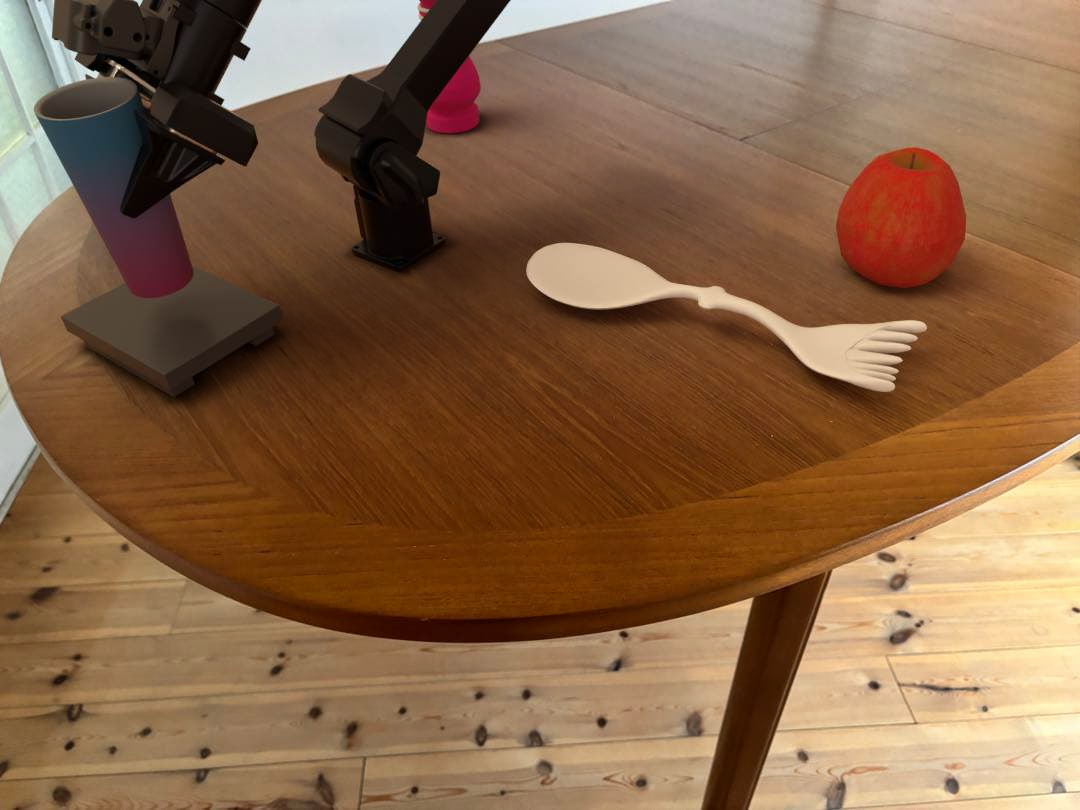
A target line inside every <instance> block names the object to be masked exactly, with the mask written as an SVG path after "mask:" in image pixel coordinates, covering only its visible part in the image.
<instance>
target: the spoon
mask: <svg viewBox="0 0 1080 810" xmlns="http://www.w3.org/2000/svg"><path fill="white" fill-rule="evenodd" d="M525 272H526V277H527V278H528V280H529V282H530V283H531V284H532V285H533V286H534V287H535V288H536V289H537V290H538V291H540V292H541V293H542V294H543V295H545V296H546V297H549V298H550V299H552V300H554V301H556V302H559V303H561V304H564V305H567V306H571V307H575V308H580V309H586V310H598V311H599V310H600V311H601V310H614V309H621V308H628V307H633V306H636V305H641V304H647V303H650V302H654V301H660V300H664V299H665V300H666V299H672V298H675V299H676V298H678V299H679V298H680V299H681V298H682V299H689V300H694V301H696V302H697V305H698V307H699V308H700V309H703V310H708V311H710V310H714V309H715V310H724V311H728V312H732V313H736V314H739V315H742V316H745V317H748V318H750V319H752V320H754V321H756V322H757V323H759V324H761V325H763V326H764V327H765V328H766V329H768V330H769V331H771V332H772V333H773V334H774V335H775V336H776V337H778V338H779V340H781V341H782V343H784V345H786V347H787V348H788V349H789V350H790V351H791V352H792V354H793V355H794V356H795V357H796V358H797V360H799V361H800V362H801V363H802V364H803V365H805V367H806V368H808V369H810V370H811V371H813V372H815V373H818V374H820V375H823V376H826V377H830V378H833V379H836V380H840V381H842V382H845V383H849V384H852V385H855V386H857V387H859V388H864V389H867V390H871V391H875V392H879V393H880V392H882V393H888V392H889V393H890V392H892V391H894V390H895V388H896V385H895V383H894V382H895V381H896V380H897V378H896V376H894V375H897V374H898V373H899V372H900V371H899V370H898V369H897V368H895V367H892V365H898V364H900V363H902V362H904V360H903V359H902V358H901V357H900V356H897V355H893V354H896V353H898V354H899V353H904V352H909V351H910V350H912V349H913V348H912V347H911V346H910V345H908V343H913V342H916V341H917V340H919V338H918V336H917V335H914V334H919V333H924V332H926V331H927V329H928V327H927V325H926V323H925V322H923V321H919V320H913V319H906V320H896V321H885V322H877V323H841V324H839V323H838V324H831V325H824V326H817V327H807V326H800V325H797V324H794V323H792V322H790V321H788V320H786V319H784V318H783V317H781V316H780V315H778V314H777V313H775V312H773V311H772V310H770V309H768V308H766V307H764V306H762V305H761V304H758V303H757V302H753V301H752V300H749V299H745V298H742V297H739V296H735V295H732V294H731V293H728V292H726V290H725V288H724V287H721V286H718V285H712V286H709V287H703V286H702V287H701V286H695V285H688V284H682V283H676V282H671V281H669V280H667V279H666V278H664V277H662V276H661V275H660V274H658V273H657V272H655V271H654V270H653V269H652V268H650V267H649V266H648V265H645V264H644V263H642V262H641V261H638V260H636V259H633V258H631V257H628V256H626V255H623V254H620V253H618V252H616V251H613V250H609V249H607V248H603V247H599V246H596V245H589V244H584V243H577V242H576V243H574V242H558V243H553V244H549V245H546V246H543V247H542V248H540V249H538V250H537V251H535V252H534V253H533V254H532V255H531V257H530V258H529V260H528V261H527V263H526V271H525Z"/></svg>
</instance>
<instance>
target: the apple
mask: <svg viewBox="0 0 1080 810" xmlns="http://www.w3.org/2000/svg"><path fill="white" fill-rule="evenodd" d="M835 229H836V237H837V242H838V247H839V253H840V256H841V258H842V259H843V260H844V261H845V263H846V264H847V266H848V267H849V268H851V269H852V270H853V271H855V272H856V273H857V274H858V275H860V276H861V277H863V278H865V279H867V280H870V281H871V282H873V283H876V284H878V285H879V286H884V287H892V288H898V289H909V288H913V287H919V286H924V285H926V284H928V283H930V282H931V281H933V280H935V279H936V278H938V277H939V276H940V275H941V274H942V273H943V272H944V271H945V270H946V269H947V268H948V267H950V266H951V265H952V264H953V262H954V261H955V259H956V257H957V256H958V253H959V251H960V250H961V248H962V246H963V244H964V242H965V240H966V233H967V231H966V230H967V214H966V208H965V205H964V200H963V196H962V192H961V188H960V183H959V181H958V178H957V176H956V174H955V172H954V171H953V169H952V166H951V165H950V164H949V163H948V162H946V161H945V159H943V158H942V157H940V156H939V155H938V154H937V153H934V152H933V151H931V150H929V149H925V148H921V147H917V146H915V147H914V146H913V147H905V148H900V149H896V150H892V151H889V152H886V153H882V154H879V155H878V156H876V157H875V158H874V159H873V160H872V161H870V162H869V163H868V164H867V165H866V166H864V168H863V169H862V171H861V172H860V173H859V174H858V175H857V176H856V178H855V179H854V180H853V182H852V183H851V185H850V186H849V187H848V189H847V190H846V191H845V193H844V196H843V198H842V201H841V203H840V205H839V208H838V211H837V218H836V223H835Z"/></svg>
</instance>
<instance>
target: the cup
mask: <svg viewBox="0 0 1080 810" xmlns="http://www.w3.org/2000/svg"><path fill="white" fill-rule="evenodd" d="M135 110H136V111H138V112H140V113H142V114H144V115H145V116H146V113H145V109H144V106H143V103H142V100H141V96H140V93H139V90H138V87H137V85H136V84H135V83H134V82H133V81H131V80H128V79H125V78H119V77H101V78H97V77H93V79H87V80H86V79H83V80H79V81H74V82H71V83H68V84H65V85H61V86H60V87H57V88H56V89H53V90H50V91H49V92H47V93H46V94H44V95H43V96H42V97H40V98H39V99H38V100H37V101H36V102H35V104H34V106H33V112H34V115H35V116H36V118H37V120H38V123H39V124H40V126H41V128H42V129H43V131H44V133H45V135H46V137H47V139H48V141H49V143H50V144H51V146H52V148H53V150H54V152H55V154H56V156H57V157H58V159H59V161H60V163H61V165H62V168H63V169H64V171H65V172H66V174H67V177H68V178H69V180H70V182H71V184H72V185H73V188H74V189H75V191H76V193H77V195H78V197H79V199H80V201H81V202H82V204H83V206H84V208H85V210H86V212H87V213H88V217H90V219H91V221H92V223H93V225H94V227H95V228H96V231H97V233H98V234H99V237H100V238H101V240H102V242H103V243H104V246H105V248H106V249H107V251H108V253H109V255H110V257H111V258H112V260H113V262H114V264H115V266H116V268H117V270H118V272H119V274H120V275H121V277H122V280H123V281H124V283H126V285H127V287H128V288H129V290H130V292H131V293H132V294H133V295H135V296H137V297H141V298H159V297H163V296H167V295H170V294H173V293H175V292H177V291H179V290H181V289H182V288H184V287H185V286H186V285H187V284H188V283H189V282H190V281H191V280H192V278H193V274H194V271H193V267H192V266H193V264H192V261H191V258H190V255H189V251H188V248H187V245H186V240H185V238H184V235H183V231H182V228H181V226H180V222H179V218H178V215H177V211H176V209H175V205H174V202H173V199H172V195H171V193H170V194H169V195H168V196H166V197H165V198H163V199H162V200H161V201H159V202H158V203H156V204H155V205H154V206H152V207H151V208H149V209H148V210H147V211H145V212H144V213H142V214H141V215H140V216H138V217H137V218H130V217H128V216H125V215H123V214H122V213H121V212H120V207H121V204H122V200H123V197H124V193H125V191H126V188H127V185H128V182H129V179H130V176H131V173H132V170H133V168H134V165H135V162H136V159H137V156H138V154H139V151H140V148H141V145H142V136H141V133H140V130H139V127H138V124H137V121H136V117H135V114H134V111H135Z"/></svg>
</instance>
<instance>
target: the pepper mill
mask: <svg viewBox="0 0 1080 810" xmlns="http://www.w3.org/2000/svg"><path fill="white" fill-rule="evenodd" d="M418 1H419V3H418V4H417V10H418V19H420V21H421V20H422V19H423V17H424V16H425V15H426V13H427V12H428V11H429V9H430V8H431V7H432V5H433V4H434V3H435V1H436V0H418ZM481 88H482V85H481V80H480V75H479V73H478V70H477V67H476V65H475V63H474V61H473V59H472V57H471V56H470V55H469V56H468V58H467V59H466V60H465V62H464V63H463V64H462V66H461V67H460V68H459V70H458V71H457V72H456V74H455V75H454V76H453V78H452V79H451V80H450V82H449V83H448V84H447V86H446V87H445V88H444V90H443V91H442V92H441V94H440V95H439V96H438V98H437V99H436V100H435V102H434V103H433V104H432V106H431V107H430V109H429V111H428V114H427V120H426V126H427V128H428V129H429V130H431V131H433V132H436V133H440V134H458V133H459V134H460V133H463V132H467V131H469V130H472V129H474V128H476V127H477V126H478V125H479V123H480V110H479V105H478V104H477V103H476V102H475V101H476V100H477V99H478V97H479V96H480V93H481V90H482V89H481Z"/></svg>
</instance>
